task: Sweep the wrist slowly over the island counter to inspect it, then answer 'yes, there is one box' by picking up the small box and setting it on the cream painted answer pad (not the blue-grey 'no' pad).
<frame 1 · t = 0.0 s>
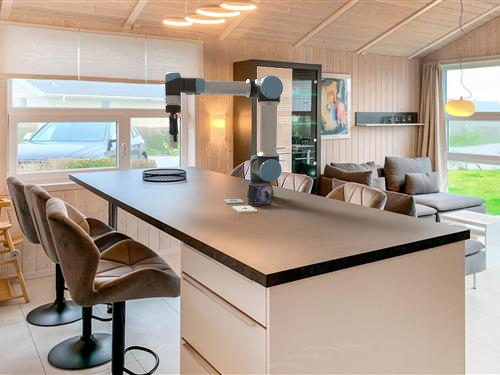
hand: (173, 148, 237), 28 cm above the countertop, fingers open, 13 cm apart
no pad: (233, 202, 246), on the countertop
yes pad: (244, 210, 224), on the countertop
small box: (259, 205, 239), on the countertop
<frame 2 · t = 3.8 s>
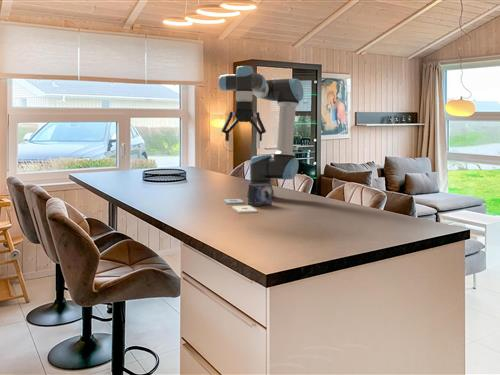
hand: (243, 148, 218), 29 cm above the countertop, fingers open, 13 cm apart
nothing on the countertop moved.
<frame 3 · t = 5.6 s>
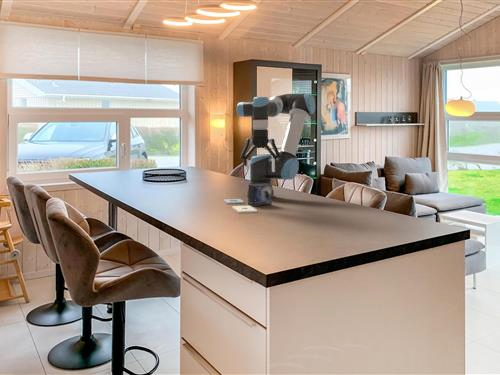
hand: (260, 172, 236), 17 cm above the countertop, fingers open, 13 cm apart
nothing on the countertop moved.
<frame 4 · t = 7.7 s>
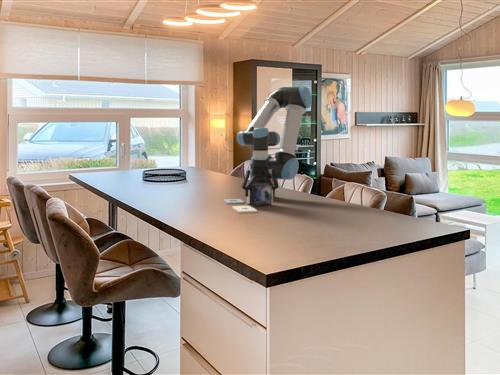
hand: (259, 202, 238), 1 cm above the countertop, fingers closed on small box, 11 cm apart
small box: (259, 205, 238), on the countertop, touching gripper
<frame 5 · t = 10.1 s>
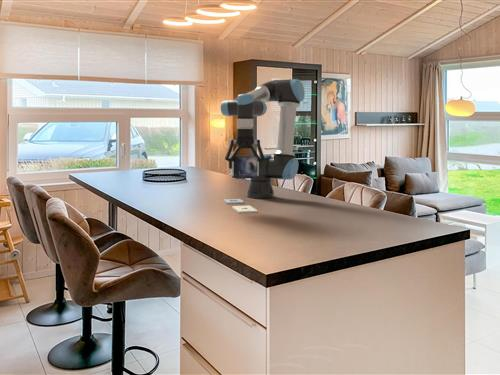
hand: (244, 175, 222), 16 cm above the countertop, fingers closed on small box, 11 cm apart
small box: (244, 178, 222), point 15 cm above the countertop, touching gripper
when the fingers open (3 cm above the countertop, at t = 12.7 s): small box drops 1 cm, resting on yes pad.
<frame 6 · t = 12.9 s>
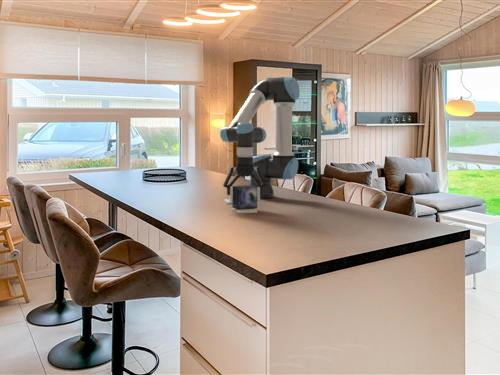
hand: (244, 201, 224), 4 cm above the countertop, fingers open, 13 cm apart
small box: (244, 208, 224), point 1 cm above the countertop, touching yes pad
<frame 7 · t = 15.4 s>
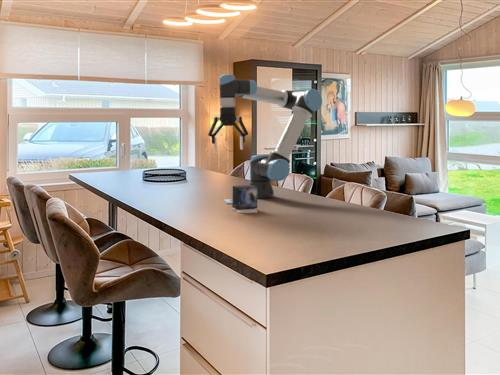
hand: (228, 150, 238), 27 cm above the countertop, fingers open, 13 cm apart
nothing on the countertop moved.
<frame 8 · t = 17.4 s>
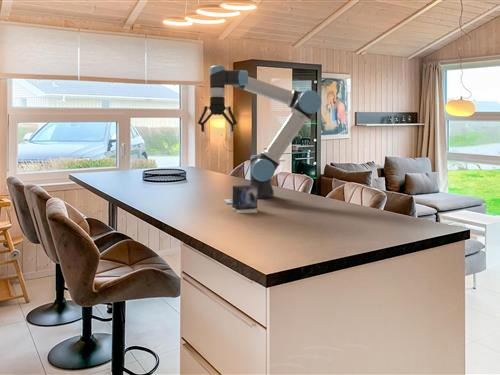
hand: (217, 138, 248), 33 cm above the countertop, fingers open, 13 cm apart
nothing on the countertop moved.
at the end: small box inside the target area on the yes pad (0.2 cm from its centre), point 0.7 cm above the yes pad's base; small box tilted 0°; the gripper is holding nothing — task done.
